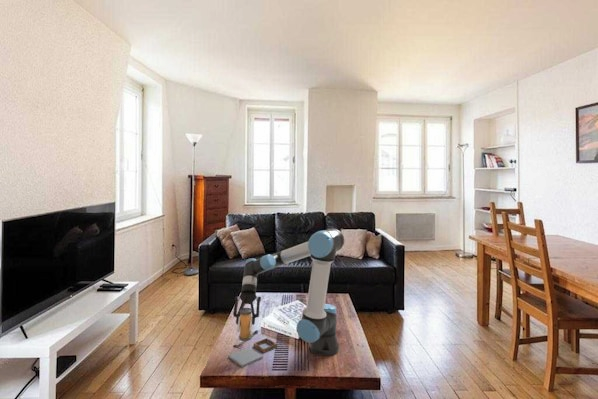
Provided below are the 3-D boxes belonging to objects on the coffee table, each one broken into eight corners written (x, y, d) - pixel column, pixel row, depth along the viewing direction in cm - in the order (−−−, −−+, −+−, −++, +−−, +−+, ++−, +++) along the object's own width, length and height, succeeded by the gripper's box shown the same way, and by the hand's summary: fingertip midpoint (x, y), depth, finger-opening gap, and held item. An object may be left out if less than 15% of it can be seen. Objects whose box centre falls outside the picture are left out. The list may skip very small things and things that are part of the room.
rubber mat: (262, 358, 160) (262, 356, 160) (242, 367, 152) (242, 365, 152) (248, 349, 169) (248, 347, 169) (228, 357, 160) (228, 355, 160)
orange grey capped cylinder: (253, 338, 160) (254, 310, 159) (243, 342, 156) (244, 313, 155) (246, 334, 164) (247, 306, 164) (236, 337, 160) (237, 309, 160)
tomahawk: (243, 352, 168) (243, 349, 168) (232, 347, 171) (232, 345, 171) (265, 335, 187) (265, 333, 186) (255, 331, 190) (256, 329, 189)
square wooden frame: (277, 347, 171) (277, 343, 171) (264, 352, 165) (264, 349, 165) (266, 341, 178) (266, 337, 178) (253, 346, 172) (253, 343, 172)
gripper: (266, 290, 175) (263, 334, 159) (232, 289, 174) (226, 333, 159) (266, 283, 169) (263, 328, 154) (231, 282, 169) (224, 327, 153)
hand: (244, 330), depth 156 cm, fingers closed on orange grey capped cylinder, 5 cm apart
